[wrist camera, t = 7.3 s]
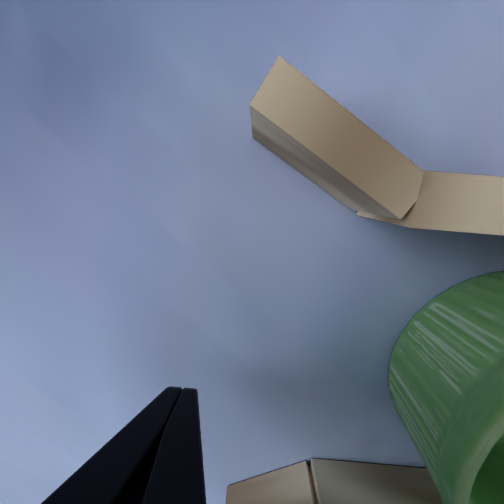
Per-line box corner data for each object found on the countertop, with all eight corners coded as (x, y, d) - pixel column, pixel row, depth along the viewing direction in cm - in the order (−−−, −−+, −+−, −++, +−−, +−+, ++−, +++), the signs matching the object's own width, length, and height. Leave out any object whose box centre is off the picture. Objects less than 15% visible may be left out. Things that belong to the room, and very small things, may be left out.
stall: (226, 499, 12) (215, 601, 9) (254, 107, 7) (253, 53, 5) (555, 527, 12) (655, 641, 9) (771, 147, 7) (1104, 119, 4)
